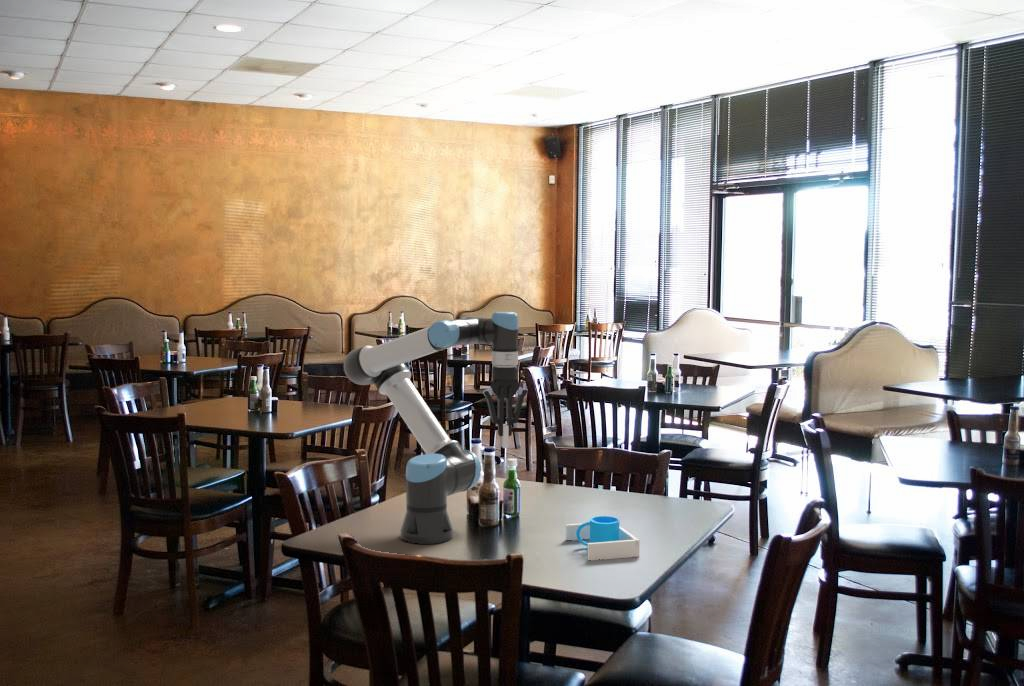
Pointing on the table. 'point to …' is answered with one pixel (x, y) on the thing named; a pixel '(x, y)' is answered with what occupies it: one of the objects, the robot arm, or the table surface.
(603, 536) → the mug
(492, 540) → the table surface
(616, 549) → the box
